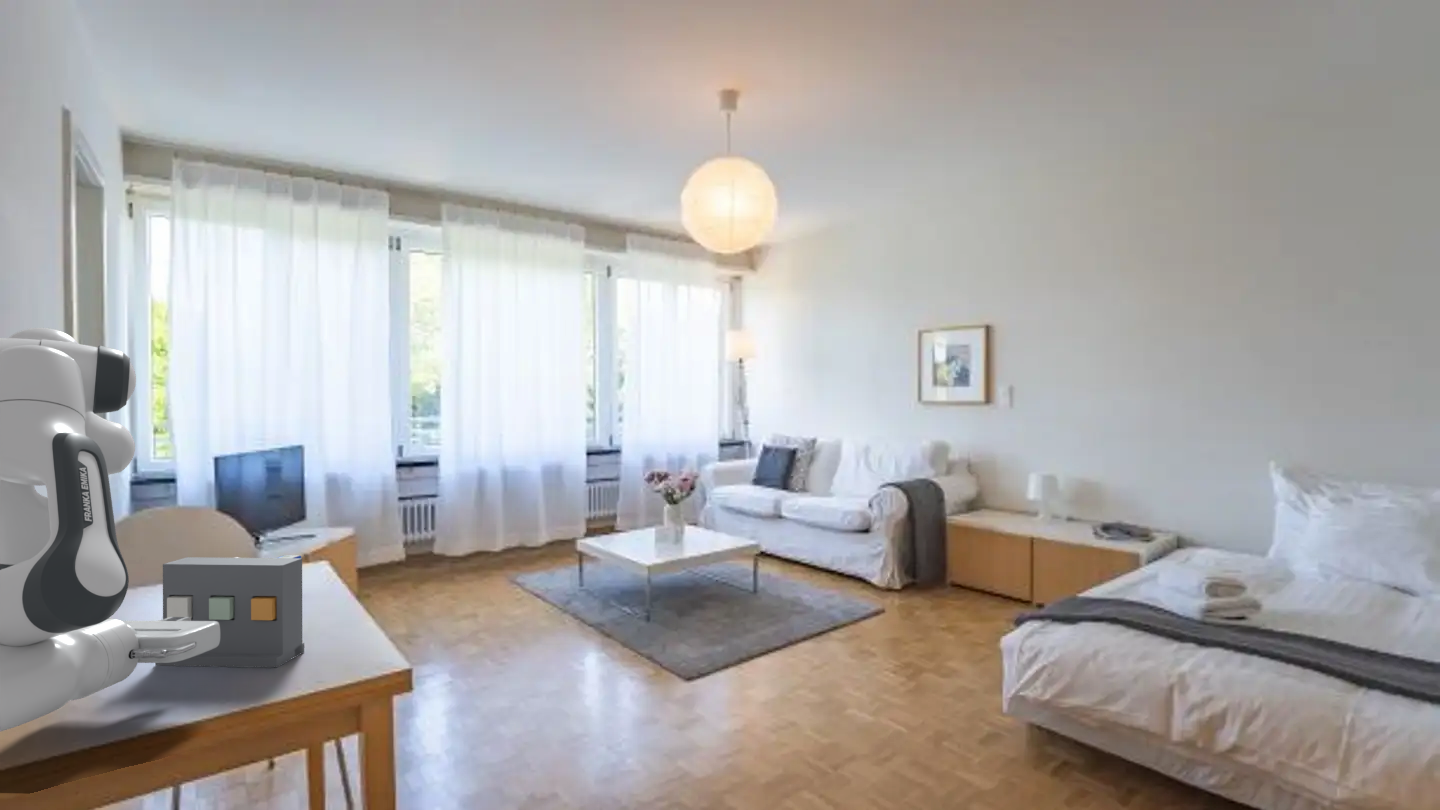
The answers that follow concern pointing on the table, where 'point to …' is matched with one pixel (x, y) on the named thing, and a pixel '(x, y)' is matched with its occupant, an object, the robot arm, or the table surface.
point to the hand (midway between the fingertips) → (181, 622)
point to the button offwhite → (180, 606)
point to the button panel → (241, 607)
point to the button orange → (264, 608)
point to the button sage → (221, 607)
